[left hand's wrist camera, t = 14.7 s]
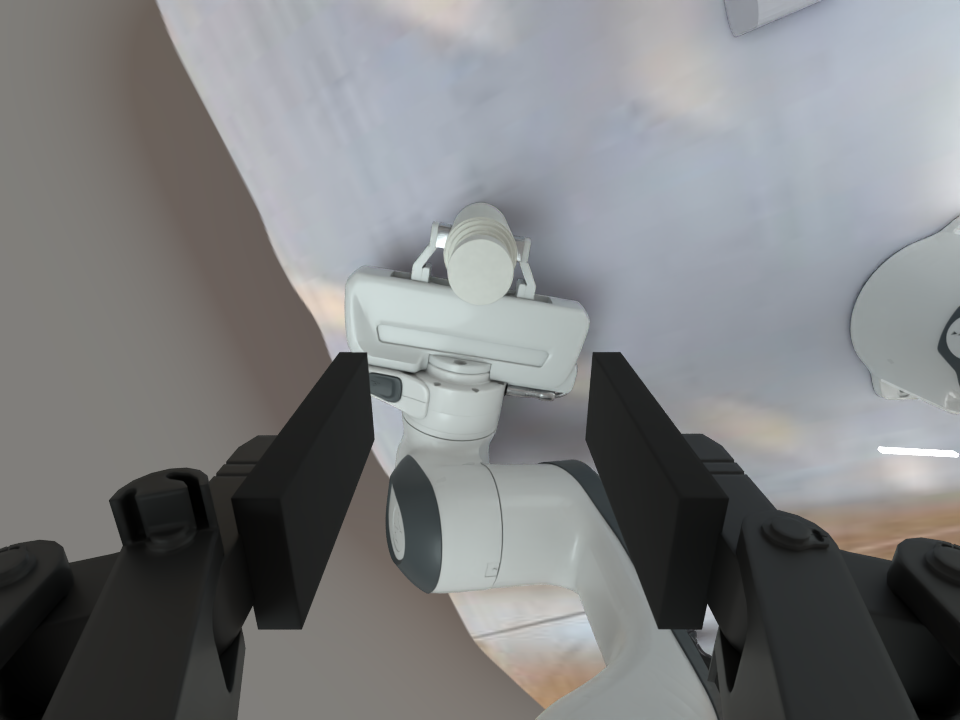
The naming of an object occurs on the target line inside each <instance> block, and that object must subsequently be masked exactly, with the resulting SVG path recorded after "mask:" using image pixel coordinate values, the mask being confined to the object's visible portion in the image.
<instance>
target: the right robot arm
mask: <svg viewBox="0 0 960 720" xmlns="http://www.w3.org/2000/svg"><path fill="white" fill-rule="evenodd" d="M451 226H452V225H451V224H446V223H441V222H435V221H434V222H433V224H432V229H431V237H430V243H429V244H428V246H427V247H426V248H425V249H424V251H423V252H422V253H421V255H420V256H419V257H418V258H417V260H416V261H415V263H414V264H413V267H412V273H409V272H403V271H397V270H391V269H385V268H379V267H373V266H367V265H364V266H361V267H360V268H359V269H357V270H356V271H354V272H353V273H352V274H351V275H350V276H349V278H348V279H347V282H346V287H345V327H346V337H347V343H348V346H349V348H350V351H351V352H367V356H368V368H369V380H370V391H371V396H372V397H374V398H376V399H379V400H381V401H383V402H385V403H387V404H389V405H391V406H393V407H395V408H397V409H399V410H401V411H402V421H403V426H404V434H403V438H402V440H401V442H400V444H399V446H398V450H397V455H396V463H395V469H394V471H393V473H392V474H391V476H390V482H389V490H388V498H387V506H386V537H387V543H388V548H389V552H390V555H391V558H392V560H393V562H394V563H395V564H396V565H397V567H398V568H399V569H400V570H401V572H402V573H403V574H404V575H405V576H406V577H407V578H408V579H409V580H410V581H411V582H412V583H413V584H414V585H415V586H416V587H418V588H419V589H421V590H422V591H424V592H425V593H454V592H468V591H480V590H488V589H493V588H505V587H517V586H529V585H553V586H559V587H563V588H567V589H569V590H572V591H574V592H575V593H577V594H578V595H579V597H580V600H581V603H582V605H583V608H584V610H585V613H586V616H587V618H588V621H589V623H590V626H591V628H592V631H593V634H594V636H595V639H596V641H597V644H598V646H599V649H600V652H601V654H602V657H603V659H604V662H605V665H606V668H604V669H603V670H602V671H601V672H600V673H599V674H597V675H596V676H595V677H593V678H592V679H591V680H589V681H588V682H586V683H585V684H583V685H582V686H580V687H578V688H577V689H575V690H574V691H572V692H570V693H569V694H567V695H565V696H563V697H562V698H560V699H559V700H557V701H556V702H554V703H553V704H552V705H550V706H549V707H548V708H547V709H546V710H544V711H543V712H542V713H541V714H540V715H539V716H538V717H537V718H536V719H535V720H723V715H722V707H721V698H720V693H719V691H718V689H717V687H716V684H715V682H710V681H707V680H708V673H709V671H708V669H707V667H706V665H705V663H704V661H703V659H702V657H701V656H700V654H699V652H698V650H697V648H696V647H695V645H694V643H693V641H692V640H691V638H690V636H689V635H688V633H687V631H686V629H658V627H657V625H656V622H655V620H654V617H653V614H652V612H651V609H650V607H649V604H648V601H647V599H646V596H645V594H644V591H643V588H642V586H641V583H640V580H639V578H638V575H637V573H636V570H635V567H634V565H633V562H632V560H631V557H630V554H629V552H628V549H627V547H626V544H625V541H624V539H623V536H622V533H621V531H620V528H619V526H618V523H617V520H616V518H615V515H614V513H613V510H612V507H611V505H610V502H609V500H608V497H607V494H606V492H605V489H604V486H603V484H602V481H601V479H600V476H599V475H598V474H597V473H596V472H595V471H593V470H592V469H591V468H590V467H589V466H588V465H586V464H585V463H583V462H581V461H578V460H563V461H553V462H543V463H538V464H489V452H488V450H489V444H490V442H491V440H492V438H493V437H494V435H495V433H496V430H497V426H498V421H499V417H500V412H501V407H502V402H503V396H505V395H509V396H516V397H524V398H536V399H539V400H542V401H553V400H554V398H559V397H563V396H565V395H566V394H568V393H569V392H570V391H571V390H572V388H573V386H574V383H575V379H576V375H577V364H576V361H577V359H578V357H579V354H580V352H581V349H582V347H583V344H584V341H585V339H586V336H587V332H588V329H589V325H590V319H589V316H588V314H587V312H586V310H585V309H584V308H583V306H582V305H581V304H580V303H579V302H578V301H574V300H569V299H563V298H557V297H551V296H545V295H539V294H535V290H536V284H535V281H534V278H533V275H532V272H531V269H530V266H529V263H528V256H529V251H530V246H531V239H530V238H526V237H520V236H514V235H513V237H514V240H515V242H516V246H517V261H519V264H520V267H521V270H522V273H523V276H524V279H525V280H523V279H518V280H517V284H516V289H515V290H508V291H507V293H506V294H505V295H504V296H503V297H502V298H500V299H499V300H497V301H496V302H493V303H490V304H486V305H475V304H471V303H468V302H466V301H464V300H462V299H461V298H459V297H458V296H457V295H456V294H455V292H454V291H453V290H452V288H451V286H450V284H449V280H448V279H444V278H438V277H432V276H430V275H431V267H432V265H431V263H426V262H427V260H428V259H429V258H430V256H431V255H432V254H433V253H434V251H435V250H436V249H437V247H438V248H444V246H445V242H446V239H447V237H448V235H449V232H450V230H451ZM850 331H851V340H852V344H853V347H854V349H855V352H856V354H857V355H858V357H859V358H860V360H861V361H862V362H863V363H864V364H865V366H866V367H867V368H868V369H869V371H870V373H871V378H872V384H873V388H874V391H875V393H876V394H877V395H878V396H880V397H882V398H885V399H887V400H913V399H920V400H922V401H924V402H926V403H929V404H931V405H933V406H935V407H937V408H939V409H942V410H944V411H946V412H949V413H952V414H956V415H957V414H959V413H960V216H959V217H958V218H956V219H955V220H953V221H952V222H951V223H950V224H949V225H947V226H946V227H945V228H944V229H943V230H941V231H940V232H938V233H936V234H934V235H932V236H930V237H928V238H925V239H922V240H920V241H917V242H915V243H913V244H911V245H909V246H907V247H905V248H903V249H902V250H900V251H898V252H897V253H896V254H894V255H893V256H891V257H890V258H889V259H888V260H886V261H885V262H884V263H883V264H882V265H881V266H880V267H879V268H878V269H877V270H876V271H875V272H874V273H873V275H872V276H871V277H870V278H869V280H868V281H867V282H866V284H865V285H864V287H863V289H862V290H861V292H860V294H859V296H858V298H857V300H856V303H855V306H854V309H853V313H852V317H851V327H850ZM555 392H560V393H556V394H555ZM878 450H879V451H880V452H882V453H891V454H910V455H929V456H948V457H958V455H959V454H957V453H956V452H954V451H944V450H925V449H906V448H888V447H879V448H878Z"/></svg>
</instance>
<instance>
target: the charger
mask: <svg viewBox="0 0 960 720" xmlns="http://www.w3.org/2000/svg"><path fill="white" fill-rule="evenodd" d="M820 1H822V0H724V2H725V7H726V12H727V17H728V22H729V25H730V29H731V31H732V33H733V35H734V36H735V37H738V36H740V35H743V34H745V33H747V32H750V31H752V30H754V29H757V28H759V27H761V26H764V25H766V24H768V23H771V22H773V21H775V20H778V19H780V18H782V17H785V16H787V15H789V14H792V13H794V12H796V11H799V10H801V9H803V8H806V7H808V6H810V5H813V4H815V3H817V2H820Z"/></svg>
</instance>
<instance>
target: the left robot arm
mask: <svg viewBox="0 0 960 720" xmlns="http://www.w3.org/2000/svg"><path fill="white" fill-rule="evenodd" d="M373 442H374V427H373V415H372V403H371V391H370V380H369V368H368V356H367V352H339V354H338V355H337V356H336V358H335V359H334V360H333V362H332V363H331V364H330V366H329V367H328V369H327V370H326V371H325V373H324V374H323V375H322V377H321V378H320V379H319V381H318V382H317V383H316V385H315V386H314V387H313V389H312V390H311V391H310V393H309V394H308V395H307V397H306V398H305V399H304V401H303V402H302V403H301V405H300V406H299V407H298V409H297V410H296V411H295V413H294V414H293V416H292V417H291V418H290V419H289V421H288V422H287V424H286V425H285V426H284V428H283V429H282V430H281V432H280V433H279V434H278V435H276V436H275V435H274V436H273V435H272V436H271V435H266V436H265V435H264V436H263V435H260V436H256V437H255V438H253V439H251V440H250V441H248V442H247V443H245V444H243V445H242V446H240V447H239V448H238V449H237V450H236V451H235V452H234V453H233V454H232V456H231V457H230V458H229V459H228V460H227V462H226V464H224V465H223V466H222V467H221V469H220V470H219V471H218V472H217V473H216V476H214V477H213V478H212V479H211V480H210V481H208V476H207V475H206V474H204V473H203V472H202V471H200V470H196V469H191V468H174V469H167V470H163V471H158V472H154V473H151V474H148V475H146V476H143V477H141V478H138V479H136V480H133V481H132V482H130V483H129V484H127V485H125V486H124V487H122V488H121V489H119V490H118V491H117V492H116V493H115V494H114V495H113V496H112V498H111V499H110V500H109V502H110V506H111V509H112V512H113V515H114V518H115V522H116V525H117V528H118V531H119V534H120V538H121V541H122V544H123V547H122V549H121V551H120V552H118V553H114V554H110V555H105V556H100V557H95V558H90V559H86V560H81V561H76V562H71V563H69V562H68V560H67V557H66V554H65V551H64V548H63V547H62V546H61V545H59V544H58V543H56V542H55V541H46V540H36V541H29V542H23V543H18V544H14V545H10V546H9V547H4V548H2V549H0V720H237V717H238V708H239V699H240V691H241V682H242V673H243V665H244V656H245V643H244V636H243V632H242V625H243V624H244V622H245V620H246V618H247V616H248V614H249V612H250V610H251V608H252V606H253V607H254V612H255V617H256V622H257V626H258V629H302V627H303V625H304V622H305V620H306V617H307V614H308V612H309V609H310V607H311V604H312V601H313V599H314V596H315V593H316V591H317V588H318V586H319V583H320V580H321V578H322V575H323V573H324V570H325V567H326V565H327V562H328V560H329V557H330V554H331V552H332V549H333V546H334V544H335V541H336V539H337V536H338V533H339V531H340V528H341V526H342V523H343V520H344V518H345V515H346V512H347V510H348V507H349V505H350V502H351V500H352V497H353V494H354V492H355V489H356V486H357V484H358V481H359V479H360V476H361V473H362V471H363V468H364V466H365V463H366V460H367V458H368V455H369V452H370V450H371V447H372V445H373ZM586 442H587V445H588V447H589V450H590V453H591V455H592V458H593V460H594V463H595V466H596V468H597V471H598V473H599V476H600V479H601V481H602V484H603V486H604V489H605V492H606V494H607V497H608V500H609V502H610V505H611V507H612V510H613V513H614V515H615V518H616V520H617V523H618V526H619V528H620V531H621V533H622V536H623V539H624V541H625V544H626V547H627V549H628V552H629V554H630V557H631V560H632V562H633V565H634V567H635V570H636V573H637V575H638V578H639V580H640V583H641V586H642V588H643V591H644V594H645V596H646V599H647V601H648V604H649V607H650V609H651V612H652V614H653V617H654V620H655V622H656V625H657V627H658V629H702V626H703V622H704V617H705V612H706V607H707V604H708V605H709V607H710V609H711V611H712V613H713V615H714V617H715V619H716V621H717V623H718V625H719V627H718V632H717V636H716V641H715V645H714V650H713V654H712V659H711V663H710V668H709V673H708V680H707V681H710V682H715V678H716V674H717V672H718V681H719V689H720V698H721V707H722V715H723V720H960V546H958V545H955V544H954V545H953V544H951V543H949V542H945V541H940V540H934V539H927V538H911V539H905V540H904V541H902V542H901V543H900V544H898V546H897V548H896V551H895V554H894V557H893V559H892V561H890V560H886V559H881V558H876V557H871V556H866V555H861V554H857V553H852V552H847V551H843V550H840V549H839V548H838V546H837V544H836V543H835V542H834V540H833V539H832V538H831V536H830V535H829V534H828V533H827V532H826V531H824V530H823V529H821V528H820V527H819V526H817V525H816V524H815V523H813V522H811V521H808V520H806V519H804V518H802V517H800V516H798V515H795V514H791V513H787V512H784V511H780V510H777V509H776V508H775V507H774V506H773V505H772V504H771V502H770V501H769V500H768V499H767V498H766V497H765V495H764V494H763V493H762V492H761V491H760V490H759V488H758V487H757V486H756V485H755V484H754V483H753V481H752V480H751V479H750V478H749V477H748V476H747V475H744V471H743V470H742V469H741V467H740V466H739V465H738V464H737V463H734V459H733V458H732V457H731V456H730V455H729V453H728V452H727V451H726V450H725V449H724V448H723V446H721V445H720V444H718V443H716V442H715V441H713V440H712V439H710V438H708V437H707V436H705V435H703V434H681V433H680V432H679V430H678V429H677V428H676V426H675V425H674V423H673V422H672V421H671V419H670V418H669V417H668V415H667V414H666V413H665V411H664V410H663V409H662V407H661V406H660V405H659V403H658V402H657V401H656V399H655V398H654V397H653V395H652V394H651V393H650V391H649V390H648V389H647V387H646V386H645V385H644V383H643V382H642V381H641V379H640V378H639V377H638V375H637V374H636V373H635V371H634V370H633V369H632V367H631V366H630V365H629V363H628V362H627V360H626V359H625V358H624V356H623V355H622V354H621V352H593V356H592V368H591V379H590V391H589V403H588V415H587V427H586Z"/></svg>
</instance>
